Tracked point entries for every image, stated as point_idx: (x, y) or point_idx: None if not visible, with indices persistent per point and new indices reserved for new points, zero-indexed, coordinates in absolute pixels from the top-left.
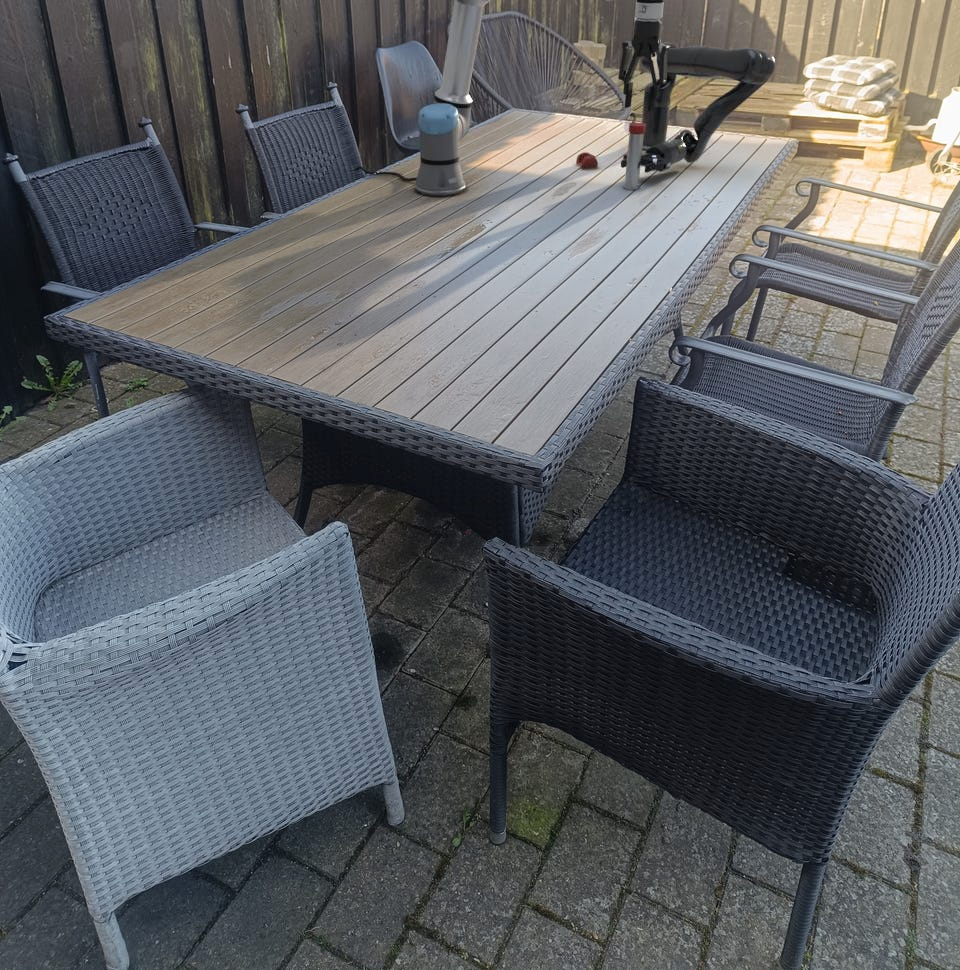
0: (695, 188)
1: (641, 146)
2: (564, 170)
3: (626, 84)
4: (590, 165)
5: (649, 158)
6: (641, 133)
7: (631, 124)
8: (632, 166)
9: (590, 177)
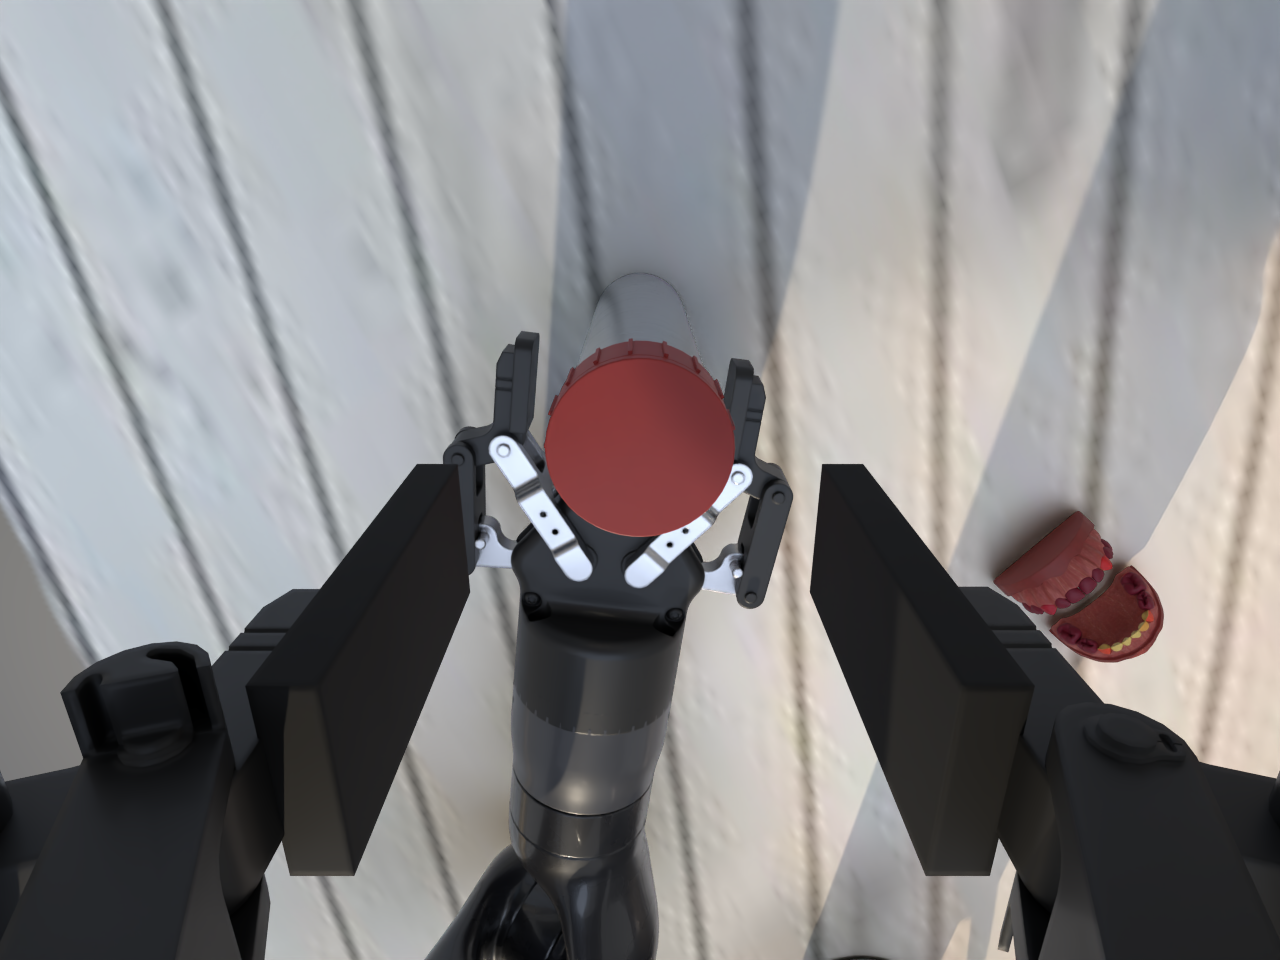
0: (322, 524)
1: None
2: (1173, 428)
3: (1039, 713)
4: (1036, 551)
5: (595, 526)
6: None
7: (701, 409)
8: (622, 296)
9: (963, 382)
